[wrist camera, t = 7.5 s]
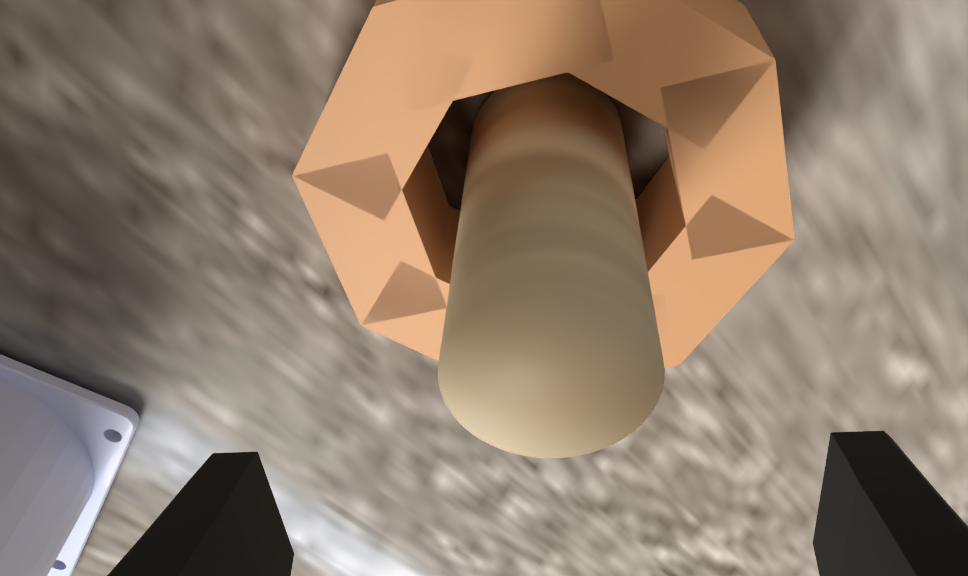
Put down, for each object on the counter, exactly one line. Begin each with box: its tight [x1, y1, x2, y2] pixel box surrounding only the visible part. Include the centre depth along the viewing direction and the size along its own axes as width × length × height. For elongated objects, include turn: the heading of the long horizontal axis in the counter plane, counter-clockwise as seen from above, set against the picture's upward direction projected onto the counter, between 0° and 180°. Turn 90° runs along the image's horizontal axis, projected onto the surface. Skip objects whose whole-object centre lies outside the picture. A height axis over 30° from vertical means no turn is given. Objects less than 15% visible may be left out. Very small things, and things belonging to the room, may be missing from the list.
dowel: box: [438, 73, 665, 458], centre depth 17 cm, size 3×3×8 cm
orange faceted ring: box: [292, 0, 794, 368], centre depth 19 cm, size 9×9×3 cm
